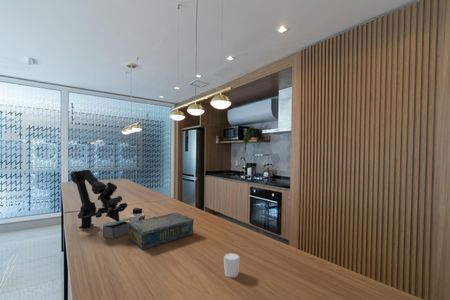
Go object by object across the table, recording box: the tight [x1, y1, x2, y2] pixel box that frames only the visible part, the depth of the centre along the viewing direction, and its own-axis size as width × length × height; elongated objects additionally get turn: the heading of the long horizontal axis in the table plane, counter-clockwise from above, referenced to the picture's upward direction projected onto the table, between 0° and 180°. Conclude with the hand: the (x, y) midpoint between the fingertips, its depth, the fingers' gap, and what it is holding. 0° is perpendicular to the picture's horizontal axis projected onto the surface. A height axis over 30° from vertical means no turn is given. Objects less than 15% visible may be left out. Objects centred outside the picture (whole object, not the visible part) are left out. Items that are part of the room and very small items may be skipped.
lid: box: [102, 217, 130, 227], centre depth 131 cm, size 9×12×1 cm
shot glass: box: [223, 252, 241, 278], centre depth 89 cm, size 7×7×7 cm
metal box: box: [127, 212, 195, 251], centre depth 128 cm, size 21×32×10 cm, turn 134°
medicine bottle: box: [129, 207, 146, 223], centre depth 147 cm, size 7×7×12 cm
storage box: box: [102, 221, 130, 240], centre depth 131 cm, size 9×12×6 cm
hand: (118, 220), depth 131 cm, fingers closed, pressing on lid
